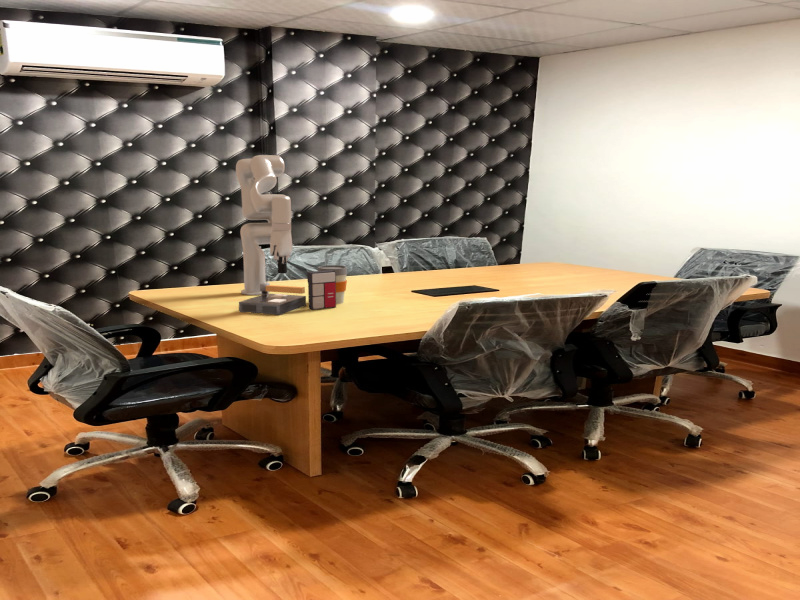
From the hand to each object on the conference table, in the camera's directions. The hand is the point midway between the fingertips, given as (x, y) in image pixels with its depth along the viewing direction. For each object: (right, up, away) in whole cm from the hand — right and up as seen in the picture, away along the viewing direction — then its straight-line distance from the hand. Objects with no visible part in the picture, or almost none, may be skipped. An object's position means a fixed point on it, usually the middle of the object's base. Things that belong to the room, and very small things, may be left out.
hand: (282, 273), depth 294 cm
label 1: (-3, -9, +7) cm, 12 cm away
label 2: (-1, -11, -4) cm, 12 cm away
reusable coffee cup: (+19, -12, +17) cm, 28 cm away
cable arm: (-1, -7, +7) cm, 10 cm away
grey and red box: (+16, -14, +3) cm, 22 cm away
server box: (-4, -14, +2) cm, 15 cm away
